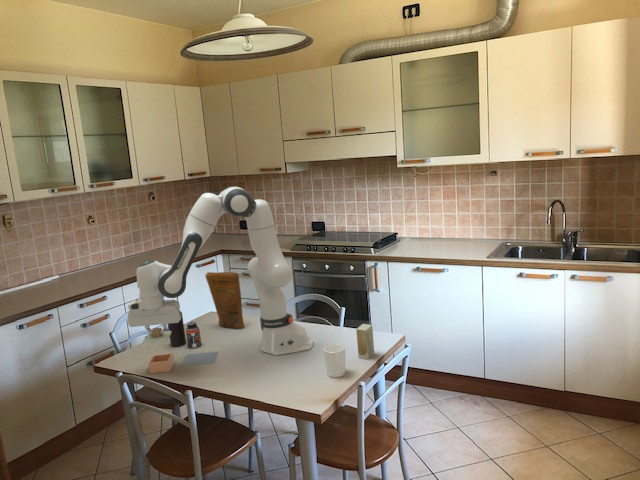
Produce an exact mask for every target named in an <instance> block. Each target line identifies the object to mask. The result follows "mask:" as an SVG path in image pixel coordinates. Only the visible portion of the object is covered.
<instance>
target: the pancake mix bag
mask: <svg viewBox="0 0 640 480" xmlns="http://www.w3.org/2000/svg"><path fill="white" fill-rule="evenodd" d="M204 275H205V279H206V283H207V285H208V288H209V291H210V294H211V297H212V301H213V304H214V307H215V310H216V314H217V316H218V325H219V327H220V328H225V329H233V330H242V329H245V328H246V327H245V323H244V318H243V306H242V305H243V304H242V292H241V283H240V274H239V273H237V272H229V271H228V272H227V271H226V272H222V271H221V272H214V271H213V272H211V271H209V272H206V273H205V274H204Z"/></svg>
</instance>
